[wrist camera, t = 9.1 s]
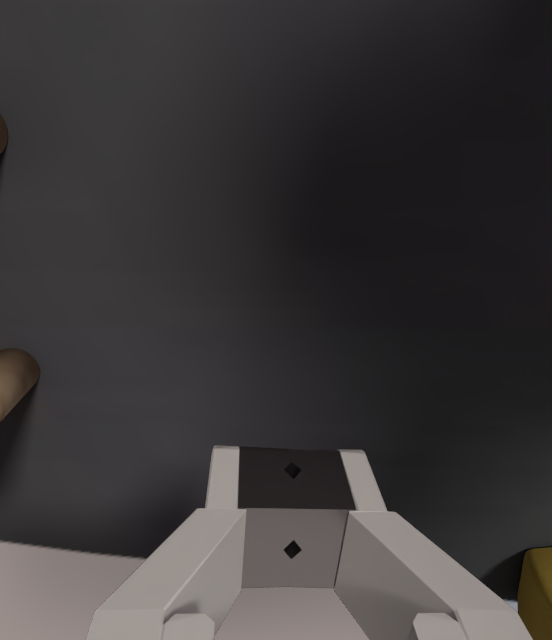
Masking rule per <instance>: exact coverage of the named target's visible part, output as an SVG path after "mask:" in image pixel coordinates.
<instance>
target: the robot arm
mask: <svg viewBox="0 0 552 640" xmlns="http://www.w3.org/2000/svg"><path fill="white" fill-rule="evenodd" d="M262 587H263V588H264V587H309V588H335V590H334V591H335V592H336V594H337V595H338V597H339V598H340V599H341V601H342V602H343V604H344V605H345V606H346V608H347V609H348V610H349V612H350V613H351V615H352V616H353V617H354V618H355V620H356V621H357V623H358V624H359V625H360V627H361V628H362V630H363V631H364V632H365V634H366V635H367V637H368V638H369V639H370V640H533V639H532V637H531V636H530V634H529V632H528V630H527V629H526V627H525V625H524V623H523V622H522V620H521V618H520V616H519V615H518V613H517V611H515V609H513V608H512V607H511V606H510V605H508V604H507V603H506V602H505V601H504V600H502V599H501V598H500V597H499V596H497V595H496V594H495V593H494V592H493V591H491V590H490V589H489V588H488V587H486V586H485V585H484V584H483V583H482V582H480V581H479V580H478V579H477V578H476V577H474V576H473V575H472V574H471V573H469V572H468V571H467V570H466V569H465V568H463V567H462V566H461V565H460V564H458V563H457V562H456V561H455V560H454V559H452V558H451V557H450V556H449V555H447V554H446V553H445V552H444V551H443V550H441V549H440V548H439V547H438V546H436V545H435V544H434V543H433V542H432V541H430V540H429V539H428V538H427V537H425V536H424V535H423V534H422V533H421V532H419V531H418V530H417V529H416V528H414V527H413V526H412V525H411V524H410V523H408V522H407V521H406V520H405V519H404V518H402V517H401V516H400V515H399V514H397V513H396V512H388V511H387V509H386V506H385V503H384V501H383V498H382V496H381V493H380V490H379V488H378V485H377V483H376V480H375V477H374V475H373V472H372V470H371V467H370V464H369V462H368V459H367V457H366V454H365V452H364V451H363V450H302V449H281V448H261V447H242V446H240V452H239V447H238V446H214V447H213V450H212V456H211V464H210V472H209V480H208V488H207V496H206V504H205V508H197V509H196V510H195V511H194V512H193V513H192V514H191V515H190V516H189V517H188V518H187V519H186V520H185V521H184V522H183V523H182V524H181V525H180V526H179V527H178V528H177V529H176V530H175V531H174V532H173V533H172V534H171V535H170V536H169V537H168V538H167V539H166V540H165V541H164V542H163V543H162V544H161V545H160V546H159V547H158V548H157V549H156V550H155V551H154V552H153V553H152V554H151V555H150V556H149V557H148V558H147V559H146V560H145V561H144V562H143V563H142V564H141V565H140V566H139V567H138V568H137V569H136V570H135V571H134V572H133V573H132V574H131V575H130V576H129V577H128V578H127V579H126V580H125V582H123V583H122V584H121V585H120V586H119V587H118V588H117V589H116V590H115V591H114V592H113V593H112V594H111V595H110V596H109V598H108V599H106V600H105V601H104V603H102V605H100V606H99V607H98V608H97V609H96V611H95V613H94V616H93V619H92V622H91V625H90V628H89V631H88V634H87V637H86V640H214V636H215V634H216V632H217V631H218V629H219V627H220V626H221V624H222V622H223V621H224V619H225V617H226V616H227V614H228V612H229V611H230V609H231V607H232V606H233V604H234V602H235V600H236V599H237V597H238V595H239V594H240V592H241V588H262Z"/></svg>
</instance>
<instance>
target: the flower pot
mask: <svg viewBox="0 0 552 640" xmlns="http://www.w3.org/2000/svg"><path fill="white" fill-rule="evenodd" d="M518 615H519V616H520V618H521V620H522V622H523V623H524V625H525V627H526V629H527V630H528V632H529V634H530V636H531V637H532V639H533V640H552V547H546V548H536V549H530V550H528V551H527V552H526V553H525V555H524V561H523V566H522V572H521V578H520V583H519V588H518Z"/></svg>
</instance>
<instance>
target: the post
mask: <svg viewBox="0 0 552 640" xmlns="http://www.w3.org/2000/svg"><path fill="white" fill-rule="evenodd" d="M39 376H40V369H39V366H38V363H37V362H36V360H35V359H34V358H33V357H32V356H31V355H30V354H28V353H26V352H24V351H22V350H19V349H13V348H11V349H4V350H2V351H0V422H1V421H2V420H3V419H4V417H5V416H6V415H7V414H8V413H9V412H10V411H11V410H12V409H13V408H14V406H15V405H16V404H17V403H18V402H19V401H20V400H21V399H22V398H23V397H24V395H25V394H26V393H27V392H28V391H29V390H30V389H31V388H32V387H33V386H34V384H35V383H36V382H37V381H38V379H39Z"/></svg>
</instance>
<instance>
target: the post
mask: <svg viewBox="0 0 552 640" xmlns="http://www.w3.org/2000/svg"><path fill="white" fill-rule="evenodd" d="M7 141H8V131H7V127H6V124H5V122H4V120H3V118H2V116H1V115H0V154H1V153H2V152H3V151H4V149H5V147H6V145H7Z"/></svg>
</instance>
